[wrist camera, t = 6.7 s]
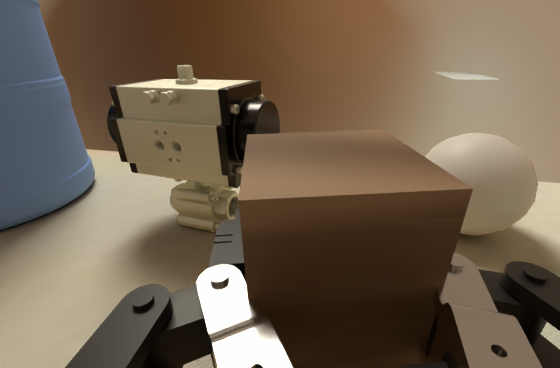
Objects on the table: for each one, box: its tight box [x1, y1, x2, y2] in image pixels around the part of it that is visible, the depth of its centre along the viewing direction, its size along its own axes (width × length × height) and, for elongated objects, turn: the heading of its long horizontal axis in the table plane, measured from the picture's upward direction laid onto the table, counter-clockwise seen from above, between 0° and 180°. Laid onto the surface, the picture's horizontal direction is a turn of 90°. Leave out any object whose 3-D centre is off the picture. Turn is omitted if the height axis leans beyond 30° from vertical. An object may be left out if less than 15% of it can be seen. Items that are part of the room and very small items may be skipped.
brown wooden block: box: [238, 129, 473, 368], centre depth 10 cm, size 5×5×10 cm
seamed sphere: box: [425, 133, 538, 235], centre depth 21 cm, size 10×7×7 cm
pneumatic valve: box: [107, 65, 280, 232], centre depth 21 cm, size 6×12×12 cm, turn 70°
